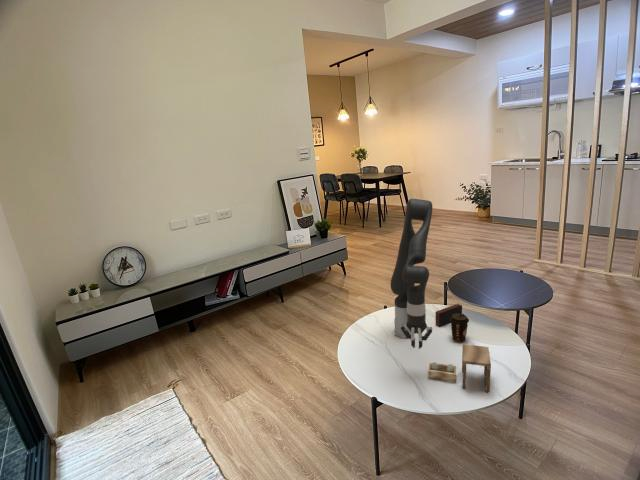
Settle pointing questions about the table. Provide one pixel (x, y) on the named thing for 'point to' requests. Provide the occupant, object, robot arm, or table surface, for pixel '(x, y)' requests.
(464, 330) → the coffee cup
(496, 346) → the table surface
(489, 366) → the wooden stool
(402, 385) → the table surface
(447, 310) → the radio
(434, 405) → the table surface
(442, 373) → the tray
